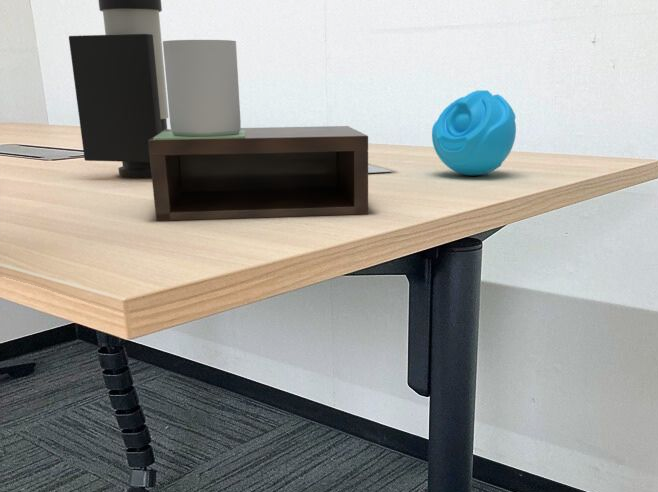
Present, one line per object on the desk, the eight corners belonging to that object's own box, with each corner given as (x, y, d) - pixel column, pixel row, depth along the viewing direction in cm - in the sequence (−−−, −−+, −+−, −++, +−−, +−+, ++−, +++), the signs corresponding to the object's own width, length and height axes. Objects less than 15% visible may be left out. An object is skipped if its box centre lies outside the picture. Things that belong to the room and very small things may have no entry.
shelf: (156, 220, 76) (147, 138, 74) (170, 197, 91) (164, 127, 88) (368, 214, 79) (368, 133, 76) (348, 192, 94) (348, 124, 91)
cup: (183, 137, 73) (175, 39, 70) (155, 132, 81) (146, 43, 78) (252, 134, 76) (247, 40, 73) (218, 129, 85) (212, 44, 82)
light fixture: (196, 172, 114) (182, -6, 106) (161, 182, 104) (142, -13, 96) (127, 170, 118) (108, -2, 109) (86, 179, 108) (61, -10, 99)
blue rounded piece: (416, 175, 108) (418, 91, 104) (462, 168, 116) (465, 89, 112) (486, 182, 101) (491, 91, 97) (530, 174, 108) (536, 89, 104)
